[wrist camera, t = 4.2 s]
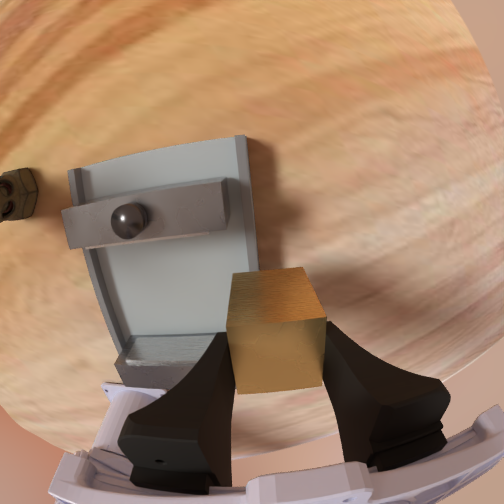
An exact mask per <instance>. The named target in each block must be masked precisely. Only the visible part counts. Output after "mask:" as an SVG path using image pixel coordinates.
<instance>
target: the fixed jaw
mask: <svg viewBox="0 0 504 504" xmlns="http://www.w3.org/2000/svg"><path fill="white" fill-rule="evenodd" d="M216 333H217V332H215V333H196V334H166V335H130V337H129V339H128V340H127V342H126V344H125V346H124V347H123V349H122V351H121V353H120V355H119V356H118V358H117V360H116V362H115V364H114V365H115V367H116V369H117V371H118V373H119V375H120V377H121V379H122V381H123V383H124V385H125V387H133V388H147V389H168V390H170V389H172V388H173V387H174V386H175V385H176V384H178V383H179V382H180V381H181V380H182V379H183V378H184V377H185V376H186V375H187V374H188V372H189V371H190V370H191V369H192V368H193V367H194V365H195V364H196V363H197V362H198V360H199V359H200V358H201V356H202V355H203V354H204V352H205V351H206V349H207V348H208V346H209V345H210V343H211V341H212V340H213V338H214V336H215V335H216ZM235 389H237V388H236V386H235Z"/></svg>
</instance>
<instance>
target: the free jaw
mask: <svg viewBox="0 0 504 504" xmlns="http://www.w3.org/2000/svg"><path fill="white" fill-rule="evenodd" d="M61 213H62V218H63V223H64V228H65V232H66V236H67V240H68V244H69V248H70V249H76V248H83V247H85V249H93V248H100V247H108V246H116V245H124V244H132V243H140V242H148V241H156V240H165V239H173V238H182V237H191V236H200V235H209V234H210V232H212V231H221V230H227V226H228V223H229V219H230V216H231V210H230V201H229V193H228V184H227V176H225V177H217V178H209V179H201V180H194V181H187V182H180V183H174V184H167V185H161V186H155V187H150V188H144V189H138V190H133V191H128V192H123V193H118V194H113V195H108V196H103V197H99V198H94V199H90V200H88V201H85V202H82V203H79V204H76V205H74V206H71V207H68V208H66V209H63V210H61Z"/></svg>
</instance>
